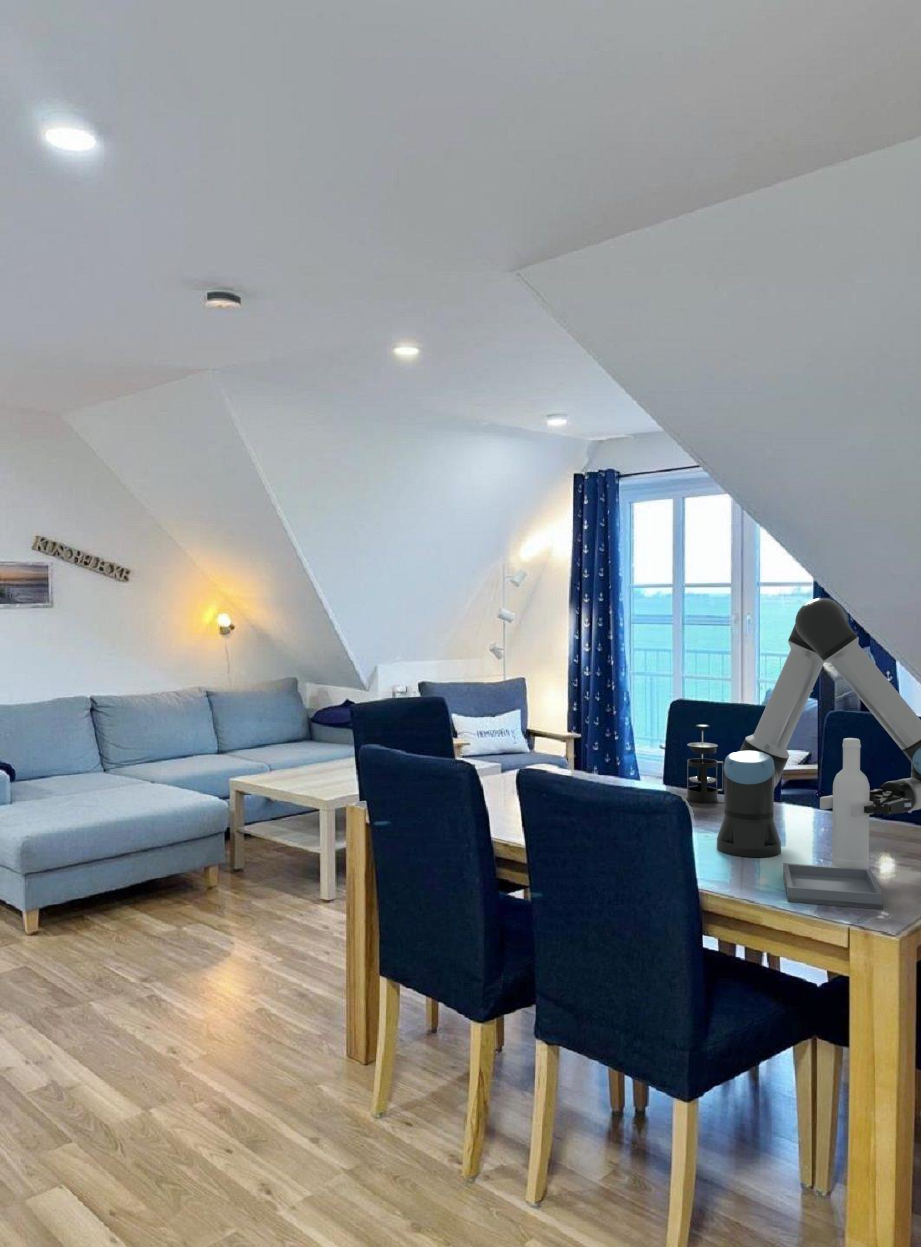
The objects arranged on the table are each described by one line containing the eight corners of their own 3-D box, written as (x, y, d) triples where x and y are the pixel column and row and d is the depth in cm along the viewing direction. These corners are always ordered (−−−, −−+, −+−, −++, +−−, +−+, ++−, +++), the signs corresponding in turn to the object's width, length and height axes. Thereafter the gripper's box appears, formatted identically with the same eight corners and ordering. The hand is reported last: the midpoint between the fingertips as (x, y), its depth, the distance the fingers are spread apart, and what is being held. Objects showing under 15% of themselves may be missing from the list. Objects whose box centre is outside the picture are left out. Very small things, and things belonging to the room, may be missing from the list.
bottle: (877, 873, 214) (878, 740, 213) (847, 876, 212) (848, 742, 210) (853, 863, 221) (854, 735, 220) (824, 866, 219) (825, 737, 218)
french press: (685, 803, 285) (686, 726, 285) (682, 796, 295) (682, 722, 294) (726, 803, 284) (726, 727, 283) (721, 797, 293) (721, 722, 292)
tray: (787, 902, 195) (788, 887, 194) (783, 876, 212) (783, 863, 212) (883, 909, 190) (883, 894, 190) (870, 882, 207) (870, 869, 207)
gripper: (942, 820, 216) (876, 833, 205) (864, 803, 234) (799, 814, 223) (942, 788, 216) (876, 799, 204) (864, 773, 234) (800, 782, 222)
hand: (836, 807), depth 214 cm, fingers closed on bottle, 8 cm apart
